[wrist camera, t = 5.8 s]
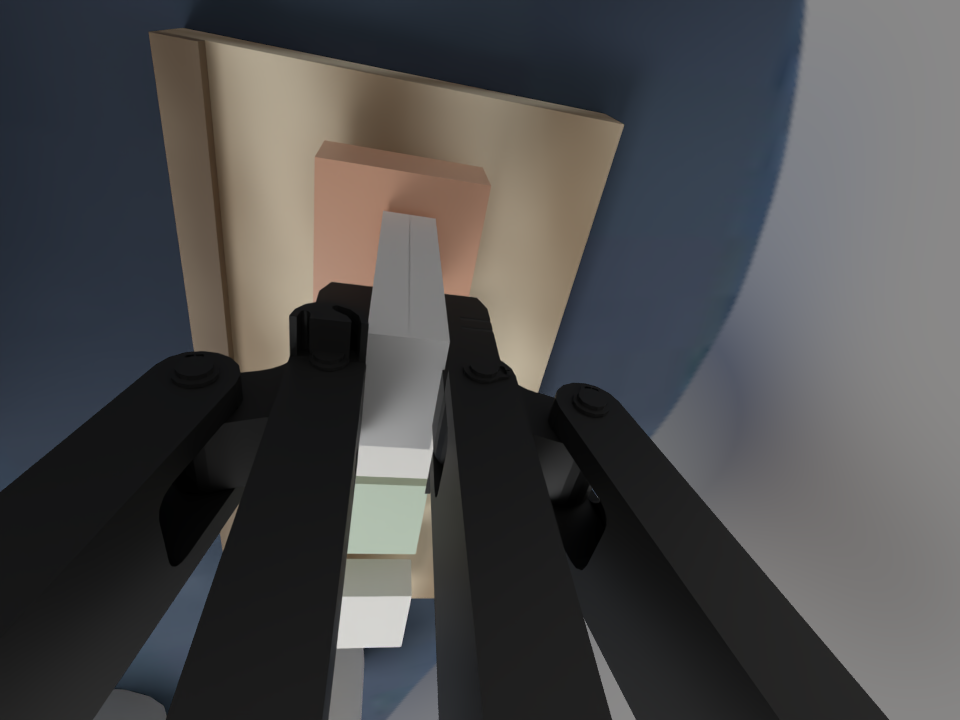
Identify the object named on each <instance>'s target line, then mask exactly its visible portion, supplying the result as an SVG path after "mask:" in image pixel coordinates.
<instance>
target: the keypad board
mask: <svg viewBox="0 0 960 720" xmlns="http://www.w3.org/2000/svg"><path fill="white" fill-rule="evenodd" d="M149 38H150V45H151V52H152V59H153V66H154V73H155V80H156V87H157V94H158V101H159V108H160V115H161V122H162V129H163V136H164V143H165V150H166V157H167V164H168V171H169V178H170V185H171V192H172V199H173V206H174V213H175V220H176V227H177V234H178V241H179V248H180V255H181V262H182V269H183V276H184V283H185V290H186V297H187V304H188V311H189V318H190V325H191V332H192V339H193V346H194V352H196V351H207V352H216V353H220V354H223V355H226V356H228V357H231V358H232V359H233V360H234V361H235V362H236V363H237V364H238V365H239V368H240V373H241V372H250V371H259V370H265V369H271V368H274V367H277V366H280V365H283V364H285V363H287V362H288V360H289V357H290V345H289V315H290V314H291V313H292V312H293V310H294V309H295V308H298V307H300V306H302V305H304V304H307V303H313V260H314V172H315V155H316V154H317V152H318V150H319V149H320V147H321V145H322V144H323V142H324V140H326V141H332V142H338V143H344V144H350V145H355V146H361V147H367V148H373V149H379V150H385V151H390V152H396V153H402V154H408V155H414V156H420V157H425V158H431V159H437V160H443V161H449V162H455V163H460V164H466V165H472V166H478V167H483V169H484V171H485V174H486V176H487V178H488V180H489V182H490V184H491V190H490V195H489V200H488V205H487V210H486V214H485V219H484V224H483V229H482V234H481V239H480V244H479V249H478V254H477V259H476V264H475V269H474V274H473V279H472V284H471V289H470V294H469V297H475V298H478V299H479V300H480V301H481V303H482V304H483V305H484V306H485V307H486V308H487V309H488V313H489V317H490V322H491V325H492V329H493V333H494V337H495V341H496V345H497V348H498V352H499V356H500V360H501V361H503V362H504V363H505V364H507V365H508V366H509V367H510V368H512V370H513V372H514V374H515V375H516V378H517V382H518V385H520V386H522V387H524V388H526V389H528V390H531V391H534V392H537V393H538V391H539V388H540V384H541V381H542V378H543V375H544V372H545V369H546V366H547V363H548V360H549V357H550V353H551V350H552V347H553V344H554V341H555V338H556V335H557V332H558V329H559V326H560V322H561V319H562V316H563V313H564V310H565V307H566V304H567V301H568V298H569V295H570V291H571V288H572V285H573V282H574V279H575V276H576V273H577V270H578V267H579V264H580V260H581V257H582V254H583V251H584V248H585V245H586V242H587V239H588V236H589V232H590V229H591V226H592V223H593V220H594V217H595V214H596V211H597V208H598V205H599V201H600V198H601V195H602V192H603V189H604V186H605V183H606V180H607V177H608V174H609V170H610V167H611V164H612V161H613V158H614V155H615V152H616V149H617V146H618V143H619V139H620V136H621V133H622V130H623V127H624V124H622V123H620V122H619V121H617V120H615V119H613V118H611V117H610V116H608V115H606V114H603V113H598V112H593V111H588V110H583V109H579V108H574V107H569V106H564V105H559V104H554V103H549V102H544V101H539V100H534V99H529V98H525V97H520V96H515V95H510V94H505V93H500V92H495V91H490V90H485V89H480V88H476V87H471V86H466V85H461V84H456V83H451V82H446V81H441V80H436V79H431V78H427V77H422V76H417V75H412V74H407V73H402V72H397V71H392V70H387V69H382V68H378V67H373V66H368V65H363V64H358V63H353V62H348V61H343V60H338V59H333V58H329V57H324V56H319V55H314V54H309V53H304V52H299V51H294V50H289V49H284V48H280V47H275V46H270V45H265V44H260V43H255V42H250V41H245V40H240V39H235V38H230V37H226V36H221V35H216V34H211V33H206V32H201V31H196V30H191V29H186V28H178V29H169V30H160V31H151V32H149ZM238 506H239V505H238ZM238 506H237V508H236V509H235V510H234V512H233V513H232V515H231V516H230V518H229V519H228V521H227V522H226V524H225V525H224V527H223V528H222V530H221V531H220V536H221V543H222V550H224V547H225V544H226V541H227V538H228V535H229V533H230V530H231V527H232V524H233V521H234V518H235V515H236V512H237V509H238ZM347 559H411V586H412V597H411V598H434V574H433V547H432V520H431V493H430V494H427V499H426V504H425V509H424V514H423V519H422V524H421V529H420V534H419V539H418V544H417V549H416V554H347Z"/></svg>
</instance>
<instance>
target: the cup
mask: <svg viewBox="0 0 960 720" xmlns="http://www.w3.org/2000/svg"><path fill="white" fill-rule="evenodd" d="M166 717H167V716H166V712H165V708H164V706H163V705H162V704H160V703H159V702H157V701H156V700H154V699H153V698H151V697H150V696H146V695H143V694H139V693H135V692H132V691H128V690H121V689H113V691H112V692H111V694H110V695H109V697H108V698H107V700H106V701H105V703H104V704H103V706H102V707H101V709H100V710H99V712H98V713H97V715H96V716H95V717H94V719H93V720H166Z"/></svg>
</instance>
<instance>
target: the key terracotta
mask: <svg viewBox="0 0 960 720" xmlns="http://www.w3.org/2000/svg"><path fill="white" fill-rule="evenodd" d="M490 190H491V184H490V182H489V180H488V178H487V176H486V174H485V171H484V169H483V167H478V166H472V165H466V164H460V163H455V162H449V161H443V160H437V159H431V158H425V157H420V156H414V155H408V154H402V153H396V152H390V151H385V150H379V149H373V148H367V147H361V146H355V145H350V144H344V143H338V142H332V141H326V140H324V142H323V144H322V145H321V147H320V149H319V150H318V152H317V154H316V155H315V172H314V260H313V302H316V299H317V296H318V293H319V290H321V289H322V288H324V287H325V286H326V285H328V284H329V283H330V282H338V283H347V284H355V285H363V286H372V287H373V282H374V275H375V267H376V260H377V253H378V245H379V238H380V230H381V223H382V216H383V211H388V212H395V213H402V214H408V215H415V216H422V217H428V218H435V219H436V226H437V235H438V243H439V252H440V261H441V269H442V278H443V286H444V294H451V295H459V296H467V297H469V294H470V289H471V284H472V279H473V274H474V269H475V264H476V259H477V254H478V249H479V244H480V239H481V234H482V229H483V224H484V219H485V214H486V210H487V205H488V200H489V195H490Z"/></svg>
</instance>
